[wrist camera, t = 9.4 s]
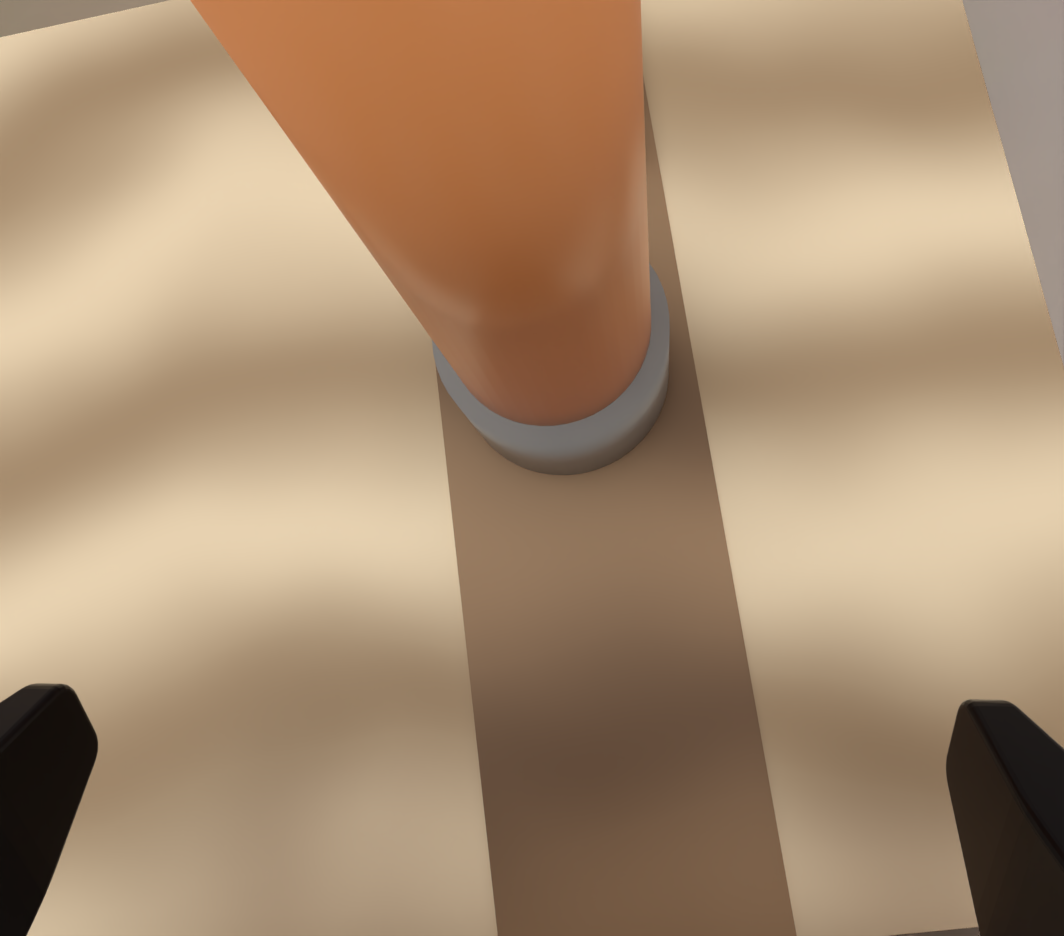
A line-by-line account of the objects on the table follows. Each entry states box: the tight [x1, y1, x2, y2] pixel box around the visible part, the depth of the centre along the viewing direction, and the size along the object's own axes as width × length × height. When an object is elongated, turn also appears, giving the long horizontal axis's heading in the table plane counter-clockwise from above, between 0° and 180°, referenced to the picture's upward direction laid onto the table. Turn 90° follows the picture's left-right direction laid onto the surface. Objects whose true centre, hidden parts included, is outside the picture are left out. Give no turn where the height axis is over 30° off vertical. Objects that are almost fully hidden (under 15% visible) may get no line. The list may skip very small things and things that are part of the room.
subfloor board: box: [0, 0, 1064, 936], centre depth 18 cm, size 21×24×2 cm
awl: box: [190, 0, 670, 475], centre depth 11 cm, size 4×4×13 cm
